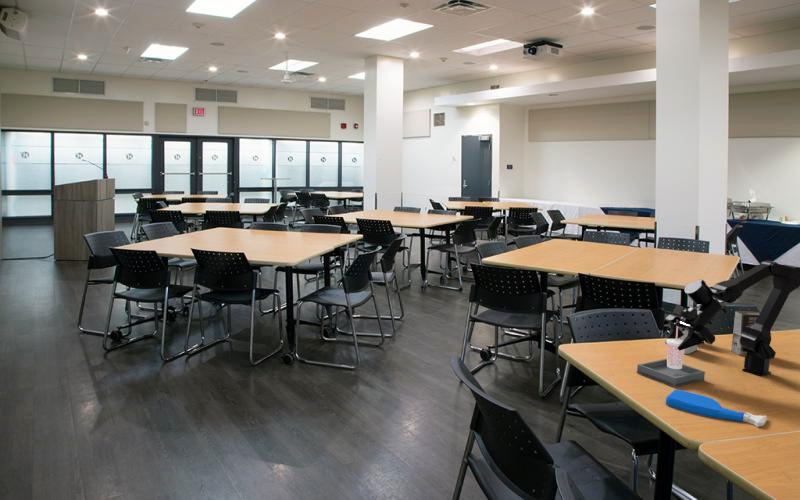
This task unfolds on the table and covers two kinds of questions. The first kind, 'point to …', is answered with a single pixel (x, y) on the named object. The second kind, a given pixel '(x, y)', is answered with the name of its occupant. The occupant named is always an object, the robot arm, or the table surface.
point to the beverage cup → (674, 353)
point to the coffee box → (742, 328)
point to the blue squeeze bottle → (709, 408)
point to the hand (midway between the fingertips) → (672, 346)
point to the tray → (670, 373)
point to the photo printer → (690, 349)
